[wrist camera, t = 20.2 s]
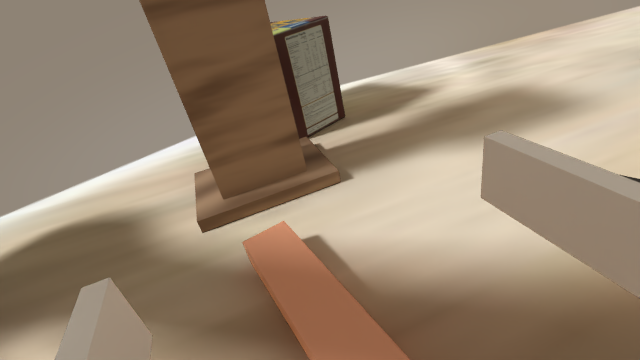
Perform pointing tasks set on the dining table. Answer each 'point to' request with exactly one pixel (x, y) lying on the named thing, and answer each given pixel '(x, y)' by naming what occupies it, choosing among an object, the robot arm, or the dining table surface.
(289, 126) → the stand
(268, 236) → the bar
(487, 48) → the dining table surface
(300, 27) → the protein box
